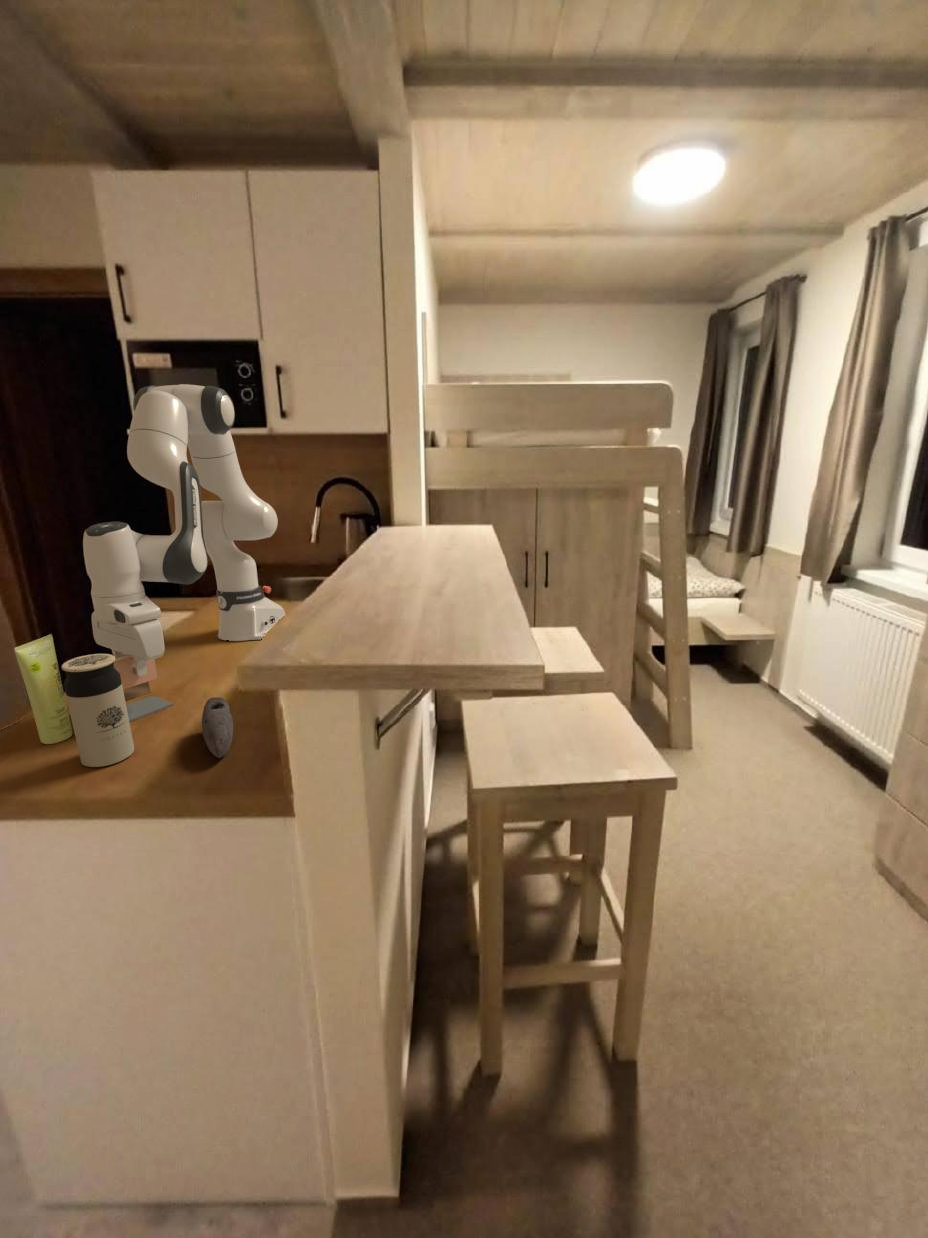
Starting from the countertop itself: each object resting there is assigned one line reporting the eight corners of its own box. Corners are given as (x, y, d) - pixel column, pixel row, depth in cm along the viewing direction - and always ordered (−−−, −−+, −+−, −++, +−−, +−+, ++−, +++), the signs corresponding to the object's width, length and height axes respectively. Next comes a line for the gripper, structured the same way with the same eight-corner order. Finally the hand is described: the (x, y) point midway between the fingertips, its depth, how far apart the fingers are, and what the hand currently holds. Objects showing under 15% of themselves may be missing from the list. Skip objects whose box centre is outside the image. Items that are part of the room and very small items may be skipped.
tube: (72, 741, 101) (50, 642, 95) (38, 749, 98) (13, 647, 93) (73, 729, 105) (51, 633, 100) (41, 736, 103) (16, 638, 97)
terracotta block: (111, 684, 110) (105, 658, 108) (145, 673, 116) (141, 648, 114) (122, 689, 108) (117, 663, 106) (157, 678, 113) (153, 652, 112)
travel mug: (77, 756, 96) (55, 660, 91) (127, 740, 101) (110, 649, 96) (87, 774, 90) (64, 673, 85) (140, 756, 96) (122, 661, 91)
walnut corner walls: (147, 691, 122) (144, 674, 121) (182, 705, 116) (180, 687, 114) (75, 716, 111) (71, 698, 109) (110, 733, 104) (106, 714, 103)
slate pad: (153, 697, 119) (153, 695, 119) (173, 705, 116) (173, 703, 116) (105, 714, 111) (105, 712, 111) (124, 723, 108) (124, 722, 107)
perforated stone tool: (235, 762, 94) (231, 726, 92) (202, 769, 92) (196, 732, 90) (234, 725, 107) (230, 692, 105) (205, 729, 105) (200, 697, 103)
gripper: (77, 602, 110) (90, 666, 114) (132, 617, 99) (144, 687, 103) (110, 596, 115) (122, 657, 119) (165, 610, 105) (176, 676, 108)
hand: (132, 671), depth 111 cm, fingers closed on terracotta block, 4 cm apart
